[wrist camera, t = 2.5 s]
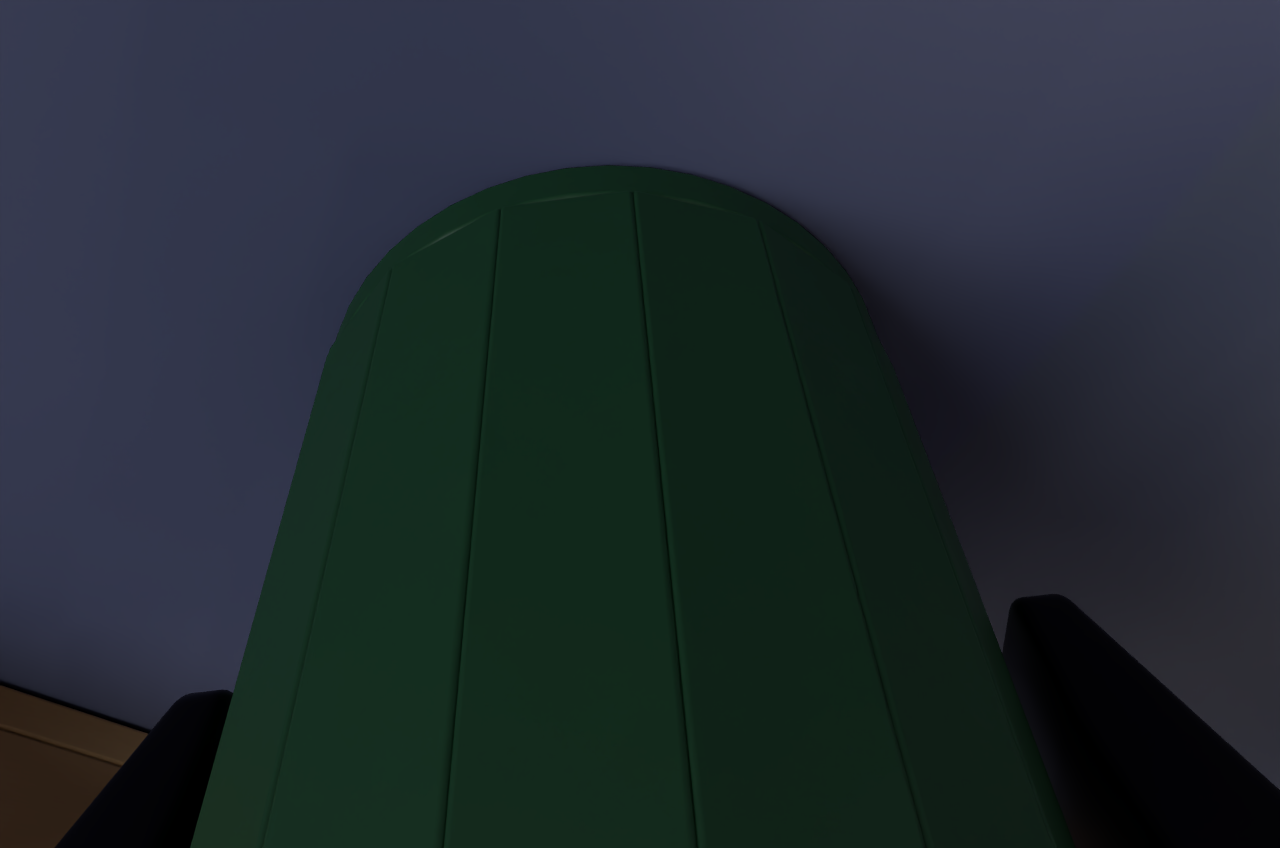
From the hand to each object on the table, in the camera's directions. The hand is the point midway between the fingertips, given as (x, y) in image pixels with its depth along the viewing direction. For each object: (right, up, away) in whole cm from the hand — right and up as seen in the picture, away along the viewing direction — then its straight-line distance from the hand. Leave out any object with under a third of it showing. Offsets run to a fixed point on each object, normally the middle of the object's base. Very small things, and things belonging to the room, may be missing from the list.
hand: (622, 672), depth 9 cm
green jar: (0, +2, +3) cm, 4 cm away
